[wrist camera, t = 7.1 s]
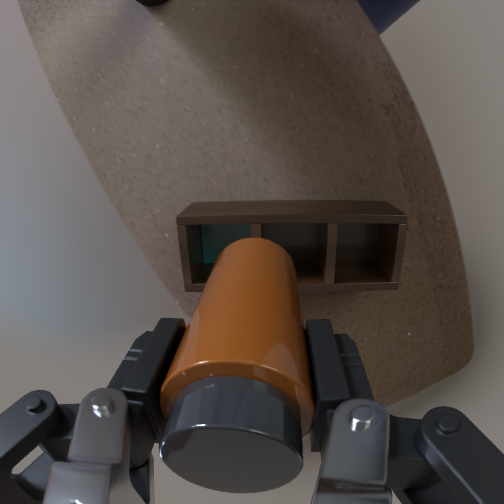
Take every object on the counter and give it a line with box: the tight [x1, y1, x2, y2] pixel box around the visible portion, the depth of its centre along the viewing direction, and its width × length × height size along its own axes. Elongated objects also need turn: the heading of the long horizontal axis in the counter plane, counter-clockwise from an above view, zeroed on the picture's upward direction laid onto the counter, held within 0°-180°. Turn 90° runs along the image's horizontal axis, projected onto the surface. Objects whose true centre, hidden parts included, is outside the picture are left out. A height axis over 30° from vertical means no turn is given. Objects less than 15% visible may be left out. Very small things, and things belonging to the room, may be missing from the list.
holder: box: [176, 200, 408, 292], centre depth 29 cm, size 7×20×6 cm, turn 92°
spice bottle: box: [159, 238, 316, 493], centre depth 10 cm, size 4×4×10 cm
